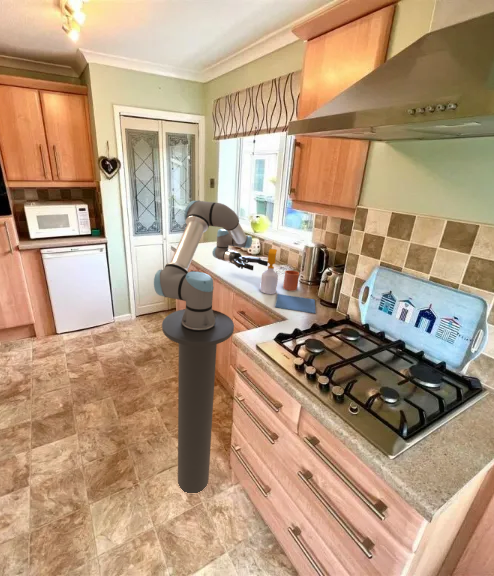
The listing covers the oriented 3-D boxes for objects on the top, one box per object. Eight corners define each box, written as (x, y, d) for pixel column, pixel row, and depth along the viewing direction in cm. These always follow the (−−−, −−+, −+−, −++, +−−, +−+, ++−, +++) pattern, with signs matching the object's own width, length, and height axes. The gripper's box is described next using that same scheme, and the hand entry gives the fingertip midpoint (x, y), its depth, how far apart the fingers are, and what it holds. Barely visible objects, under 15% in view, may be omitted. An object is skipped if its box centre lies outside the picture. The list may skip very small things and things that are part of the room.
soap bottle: (276, 289, 179) (281, 248, 170) (275, 295, 171) (280, 252, 162) (261, 287, 181) (265, 246, 172) (259, 292, 172) (263, 250, 163)
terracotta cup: (282, 289, 179) (284, 273, 176) (283, 285, 187) (285, 269, 183) (296, 291, 178) (299, 275, 174) (297, 286, 185) (299, 271, 182)
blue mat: (275, 307, 155) (275, 306, 155) (278, 294, 172) (278, 294, 172) (315, 313, 151) (315, 313, 151) (314, 300, 168) (314, 299, 167)
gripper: (245, 260, 199) (272, 268, 185) (218, 266, 182) (245, 276, 168) (246, 248, 196) (273, 256, 183) (219, 254, 179) (247, 263, 166)
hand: (260, 266), depth 175 cm, fingers open, 13 cm apart
